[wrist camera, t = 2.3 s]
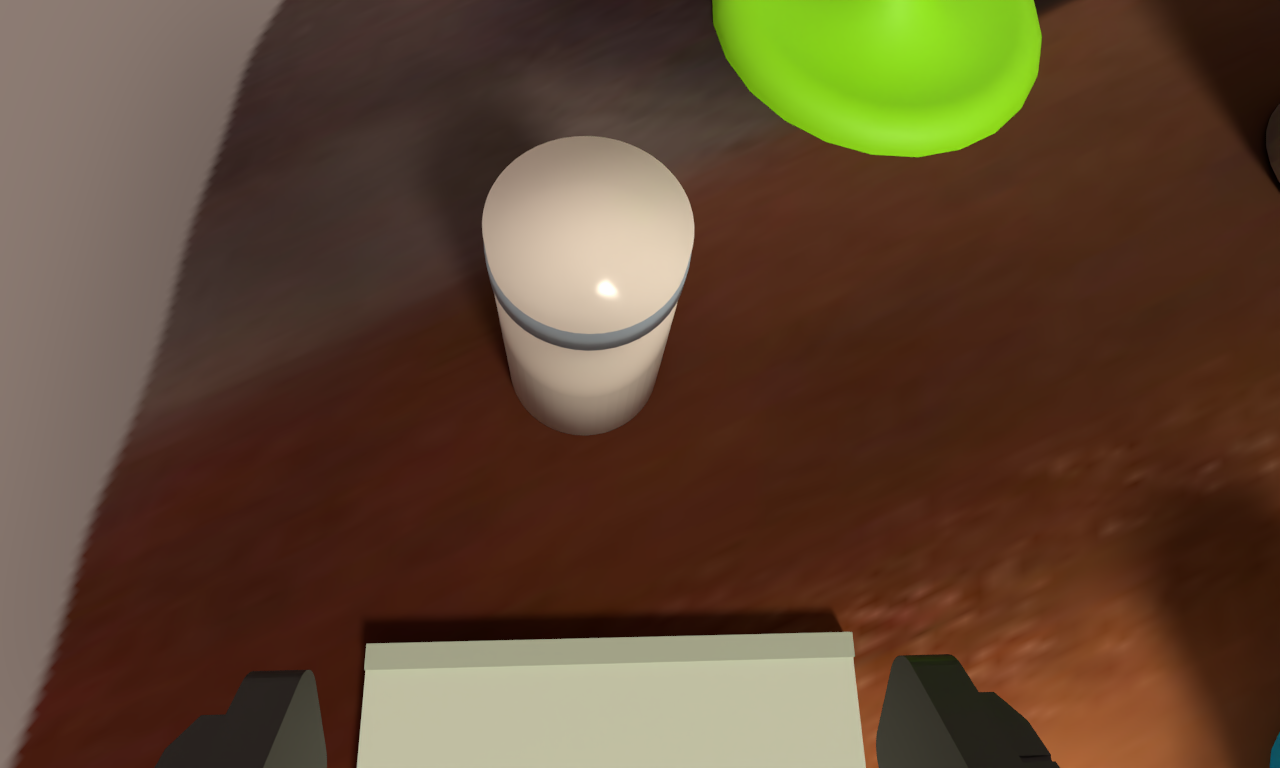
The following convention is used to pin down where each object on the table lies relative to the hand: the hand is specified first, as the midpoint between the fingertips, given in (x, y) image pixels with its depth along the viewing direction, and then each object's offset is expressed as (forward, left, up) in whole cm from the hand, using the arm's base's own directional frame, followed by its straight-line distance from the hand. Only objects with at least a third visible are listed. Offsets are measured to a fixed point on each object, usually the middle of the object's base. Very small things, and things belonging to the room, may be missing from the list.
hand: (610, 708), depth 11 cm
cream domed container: (0, -12, -16) cm, 20 cm away
